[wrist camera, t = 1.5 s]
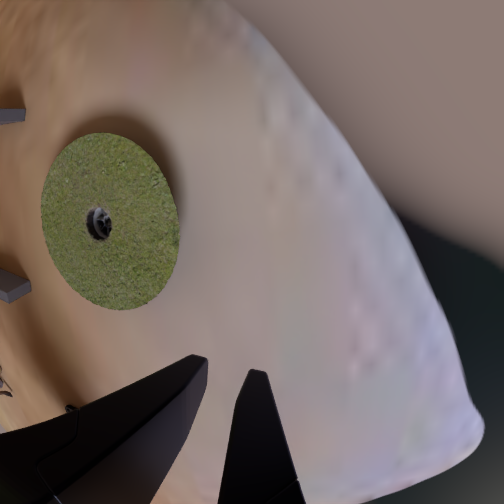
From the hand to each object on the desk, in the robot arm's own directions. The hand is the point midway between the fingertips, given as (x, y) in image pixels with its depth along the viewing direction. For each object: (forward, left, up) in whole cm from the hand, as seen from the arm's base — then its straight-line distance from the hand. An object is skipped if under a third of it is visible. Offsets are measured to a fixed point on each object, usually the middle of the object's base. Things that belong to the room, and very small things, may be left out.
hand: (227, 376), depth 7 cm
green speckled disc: (0, +11, -11) cm, 16 cm away
